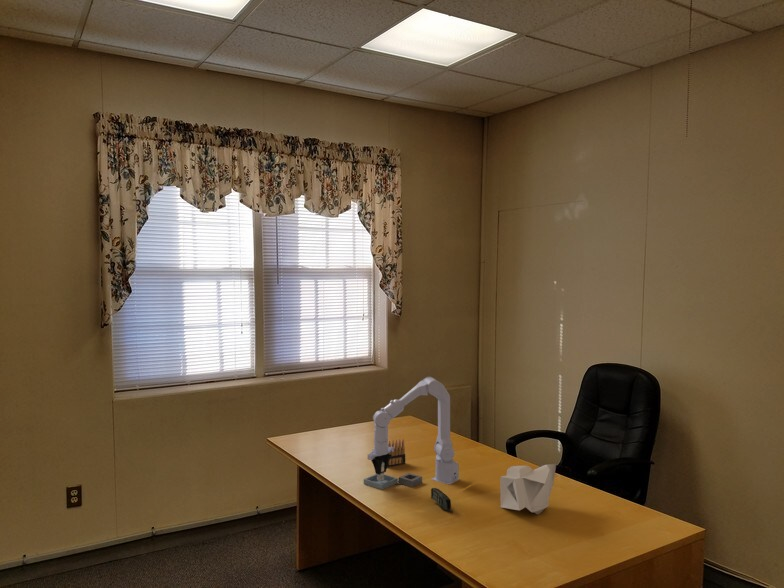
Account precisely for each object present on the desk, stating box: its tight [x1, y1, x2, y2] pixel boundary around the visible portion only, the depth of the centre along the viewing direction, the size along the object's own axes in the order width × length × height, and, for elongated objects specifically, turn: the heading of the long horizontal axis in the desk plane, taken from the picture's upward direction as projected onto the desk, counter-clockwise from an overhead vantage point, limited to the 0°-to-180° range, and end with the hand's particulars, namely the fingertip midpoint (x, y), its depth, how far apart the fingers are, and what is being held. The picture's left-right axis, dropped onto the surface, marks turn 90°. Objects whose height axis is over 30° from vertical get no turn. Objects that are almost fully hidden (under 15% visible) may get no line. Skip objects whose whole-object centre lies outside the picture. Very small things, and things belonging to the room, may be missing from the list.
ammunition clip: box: [387, 438, 406, 468], centre depth 264 cm, size 11×2×12 cm, turn 119°
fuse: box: [377, 462, 385, 481], centre depth 241 cm, size 3×3×7 cm
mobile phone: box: [430, 487, 454, 514], centre depth 220 cm, size 5×3×15 cm
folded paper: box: [499, 463, 557, 516], centre depth 218 cm, size 17×24×17 cm
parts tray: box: [363, 473, 399, 491], centre depth 241 cm, size 10×10×2 cm
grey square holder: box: [398, 472, 423, 488], centre depth 242 cm, size 7×7×3 cm
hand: (380, 472), depth 241 cm, fingers closed on fuse, 3 cm apart
